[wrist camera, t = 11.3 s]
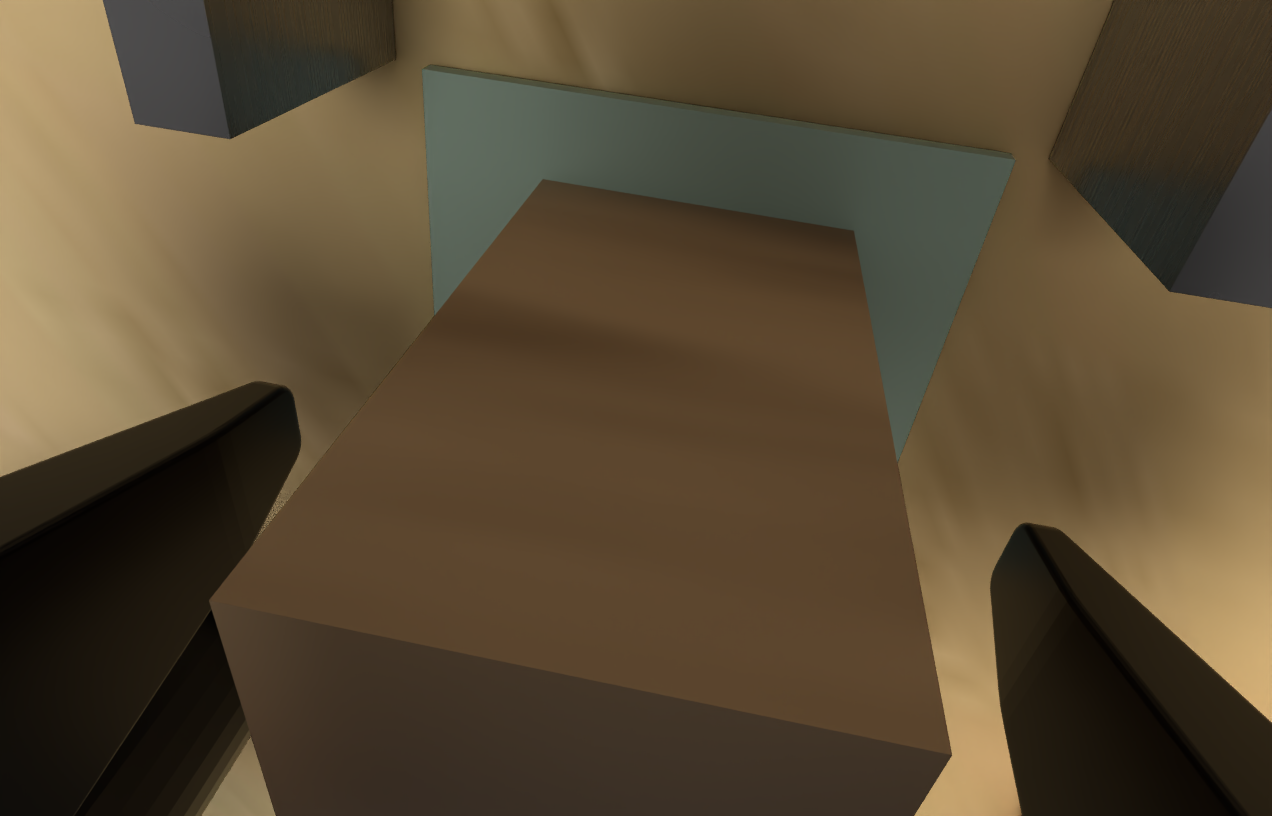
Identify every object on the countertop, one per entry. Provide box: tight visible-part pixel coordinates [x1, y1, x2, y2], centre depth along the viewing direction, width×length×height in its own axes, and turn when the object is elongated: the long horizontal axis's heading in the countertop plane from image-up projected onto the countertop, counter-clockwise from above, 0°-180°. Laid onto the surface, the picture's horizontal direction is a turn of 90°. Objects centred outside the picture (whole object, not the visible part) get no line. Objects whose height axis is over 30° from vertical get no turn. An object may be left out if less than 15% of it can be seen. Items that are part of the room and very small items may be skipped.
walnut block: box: [209, 179, 952, 816], centre depth 9 cm, size 4×4×8 cm
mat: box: [422, 65, 1016, 463], centre depth 13 cm, size 7×8×1 cm
